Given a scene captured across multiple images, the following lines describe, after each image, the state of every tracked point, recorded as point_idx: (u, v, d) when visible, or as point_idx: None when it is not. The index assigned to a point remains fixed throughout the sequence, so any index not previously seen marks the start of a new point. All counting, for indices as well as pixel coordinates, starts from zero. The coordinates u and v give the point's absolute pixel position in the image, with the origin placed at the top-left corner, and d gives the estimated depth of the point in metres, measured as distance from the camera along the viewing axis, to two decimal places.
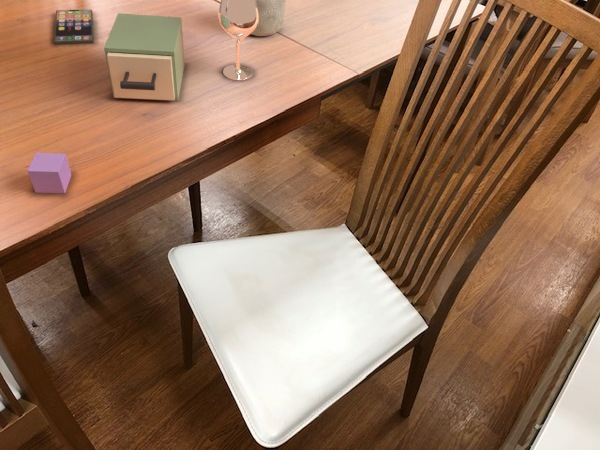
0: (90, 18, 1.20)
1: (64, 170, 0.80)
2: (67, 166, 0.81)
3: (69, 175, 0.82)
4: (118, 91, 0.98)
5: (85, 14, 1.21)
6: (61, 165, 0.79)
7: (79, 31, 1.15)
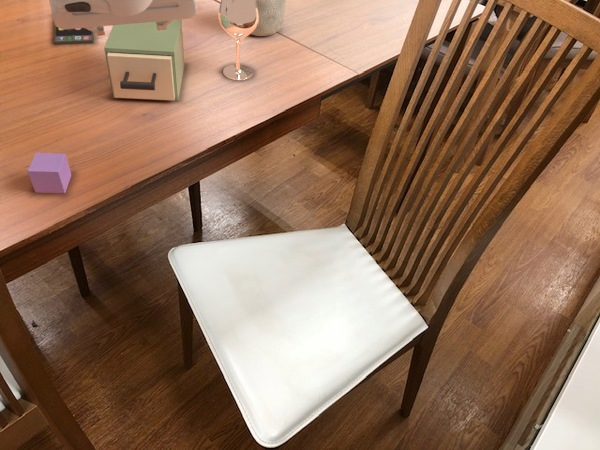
0: None
1: (64, 170, 0.80)
2: (67, 166, 0.81)
3: (69, 175, 0.82)
4: (118, 91, 0.98)
5: None
6: (61, 165, 0.79)
7: (79, 31, 1.15)
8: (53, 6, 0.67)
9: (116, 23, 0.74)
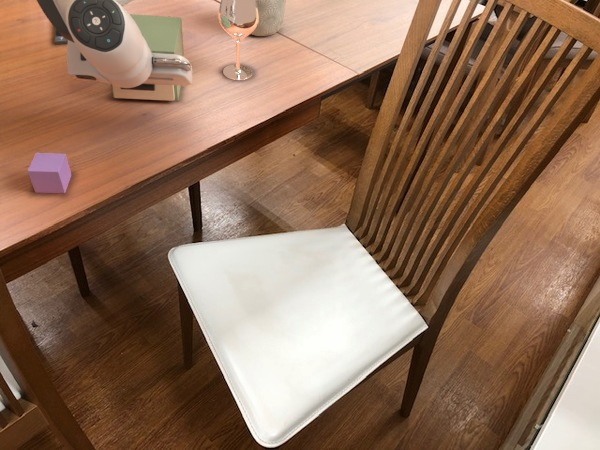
0: None
1: (64, 170, 0.80)
2: (67, 166, 0.81)
3: (69, 175, 0.82)
4: (118, 91, 0.98)
5: None
6: (61, 165, 0.79)
7: None
8: None
9: None
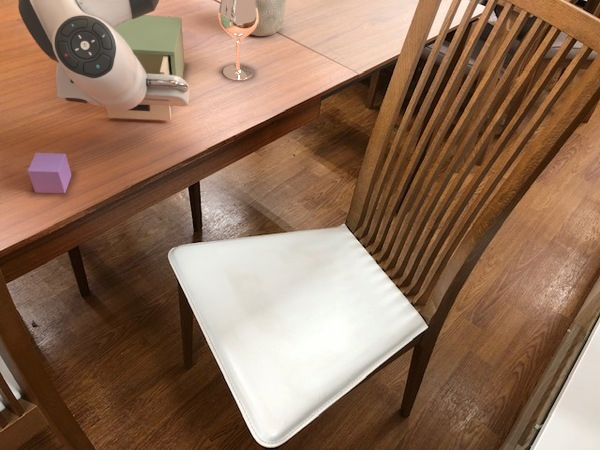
0: None
1: (64, 170, 0.80)
2: (67, 166, 0.81)
3: (69, 175, 0.82)
4: (111, 111, 0.93)
5: None
6: (61, 165, 0.79)
7: None
8: None
9: None
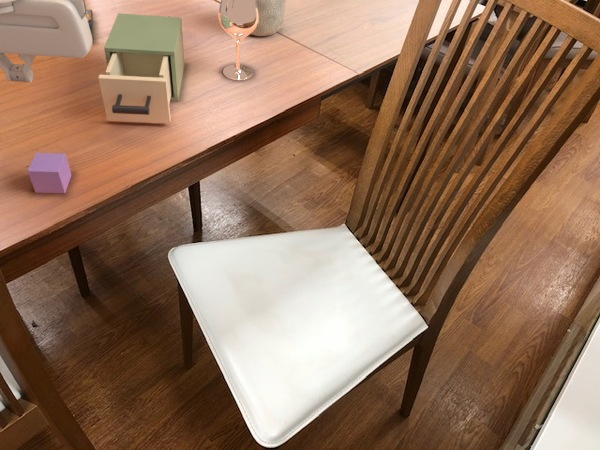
0: (90, 18, 1.20)
1: (64, 170, 0.80)
2: (67, 166, 0.81)
3: (69, 175, 0.82)
4: (110, 114, 0.92)
5: (85, 14, 1.21)
6: (61, 165, 0.79)
7: None
8: None
9: None
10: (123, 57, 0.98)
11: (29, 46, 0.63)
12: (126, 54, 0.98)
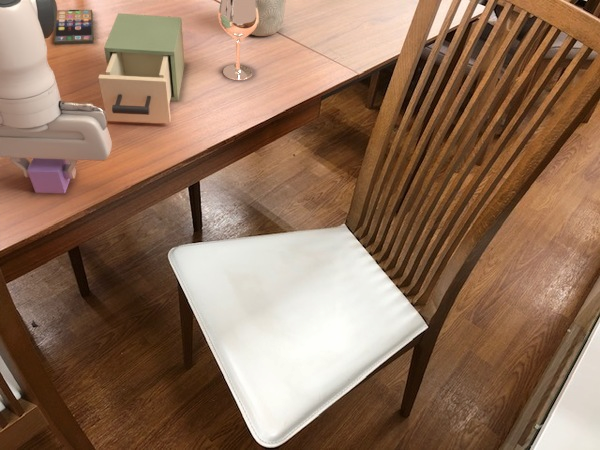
0: (90, 18, 1.20)
1: None
2: None
3: None
4: (110, 114, 0.92)
5: (85, 14, 1.21)
6: (61, 165, 0.79)
7: (79, 31, 1.15)
8: None
9: (25, 155, 0.75)
10: (123, 57, 0.98)
11: (59, 153, 0.75)
12: (126, 54, 0.98)
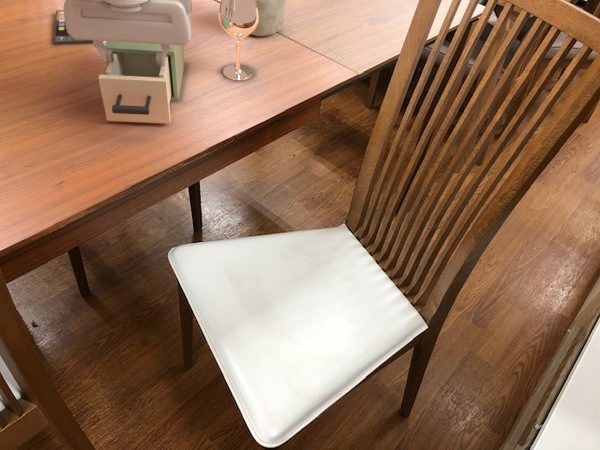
0: None
1: None
2: None
3: None
4: (110, 114, 0.92)
5: None
6: None
7: None
8: None
9: (118, 37, 0.85)
10: (123, 57, 0.98)
11: (148, 36, 0.85)
12: (126, 54, 0.98)
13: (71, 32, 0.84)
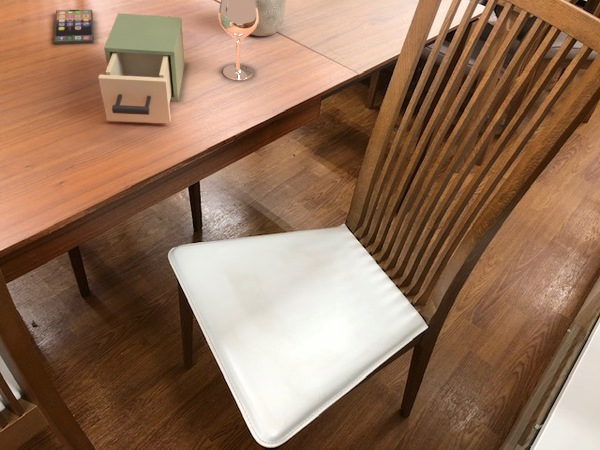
0: (90, 18, 1.20)
1: None
2: None
3: None
4: (110, 114, 0.92)
5: (85, 14, 1.21)
6: None
7: (79, 31, 1.15)
8: None
9: None
10: (123, 57, 0.98)
11: None
12: (126, 54, 0.98)
13: None
